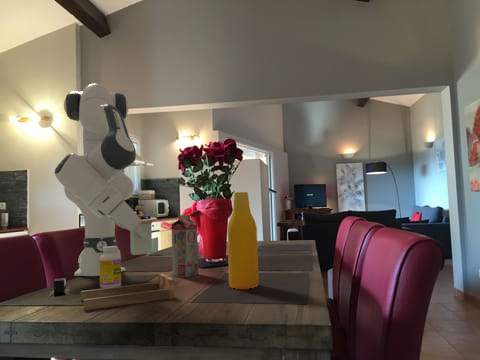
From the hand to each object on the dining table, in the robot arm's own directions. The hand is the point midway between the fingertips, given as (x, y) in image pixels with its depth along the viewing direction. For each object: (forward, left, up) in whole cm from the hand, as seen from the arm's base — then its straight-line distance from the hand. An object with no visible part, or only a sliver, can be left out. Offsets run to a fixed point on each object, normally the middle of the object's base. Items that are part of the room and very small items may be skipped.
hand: (143, 236), depth 110 cm
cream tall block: (0, -1, -5) cm, 5 cm away
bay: (0, -5, -17) cm, 18 cm away
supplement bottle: (-21, -6, -17) cm, 28 cm away
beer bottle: (+4, +30, -17) cm, 35 cm away
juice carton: (-26, +21, -17) cm, 38 cm away
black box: (-21, -21, -18) cm, 35 cm away
